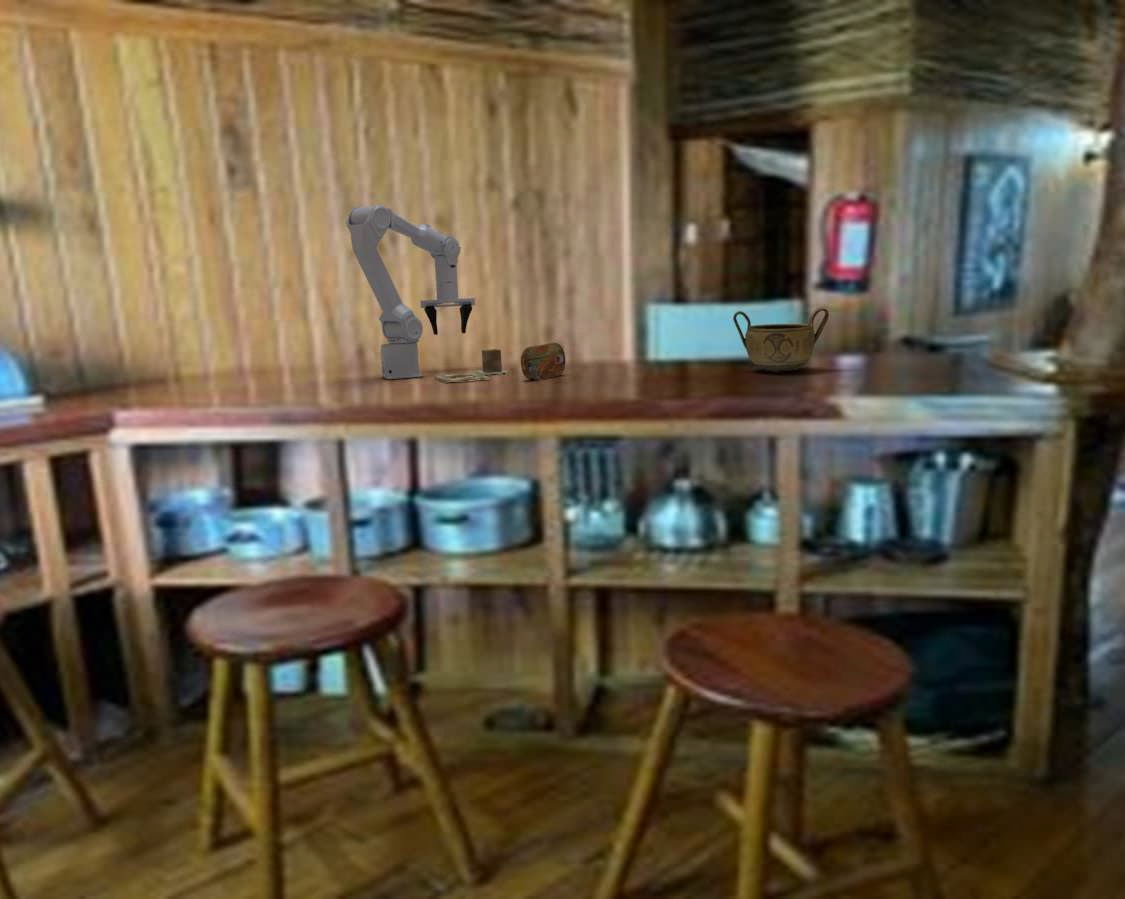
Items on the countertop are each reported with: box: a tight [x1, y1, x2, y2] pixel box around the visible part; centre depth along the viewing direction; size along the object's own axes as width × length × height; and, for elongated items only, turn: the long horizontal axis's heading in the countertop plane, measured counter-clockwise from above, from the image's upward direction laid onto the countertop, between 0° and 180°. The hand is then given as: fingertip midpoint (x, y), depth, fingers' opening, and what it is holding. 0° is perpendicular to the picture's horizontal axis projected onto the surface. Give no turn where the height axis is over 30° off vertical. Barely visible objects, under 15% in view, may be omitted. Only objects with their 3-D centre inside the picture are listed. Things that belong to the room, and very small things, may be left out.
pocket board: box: [434, 372, 490, 384], centre depth 245 cm, size 11×12×1 cm
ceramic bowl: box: [732, 307, 830, 373], centre depth 236 cm, size 22×17×15 cm
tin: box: [520, 342, 566, 381], centre depth 241 cm, size 15×3×8 cm, turn 143°
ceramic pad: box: [475, 369, 510, 376], centre depth 256 cm, size 7×7×1 cm
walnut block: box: [481, 348, 503, 373], centre depth 255 cm, size 4×4×6 cm
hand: (449, 333), depth 265 cm, fingers open, 7 cm apart
